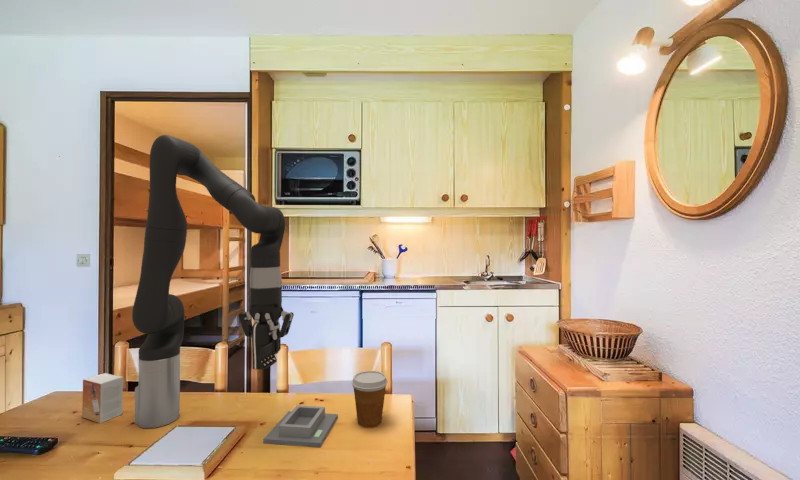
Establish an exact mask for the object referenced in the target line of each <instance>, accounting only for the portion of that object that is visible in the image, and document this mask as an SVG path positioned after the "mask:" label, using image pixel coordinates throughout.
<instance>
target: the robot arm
mask: <svg viewBox="0 0 800 480" xmlns="http://www.w3.org/2000/svg"><path fill="white" fill-rule="evenodd" d="M177 176H185V177H188V178H190V179H192V180H194V181H196V182H198V183H200V184H201V185H202V186H204V187H205V188H206V190H207V192H208V193H209V194H210V196H211V197H212V198H213V200H214V201H215V202H217V203H218V204H219V205H221V206H222V207H223V208H225V209H226V210H227V211H228V212H230V213H232V214H233V216H234V217H235V218H236V219H237V221H238V222H239V223H240V224H241V226H243V228H245V229H246V230H248V231H250V232H251V233H254V234H259V239H258V240H259V241H258V242H257V243H255V244H253V245H252V246H251V249H250V273H249V304H250V308H249V310H248V311H244V312H240V313H239V314H238V318H239V321H240V325H241V327H242V331H243V333H244V336H245V337H250V339H252V327H253V325H254V324H255V323H256V322H267V323H268V326H269V330H270V331H271V333H272V337H273V340H272V354H274V355H277V354H278V353H279V352H280V351H281V349H282V348H281V344H282V343H281V338H283V337H285V336H287V335H288V334H289V332H290V328H291V326H292V325H291V324H292V321H293V319H294V315H295V314H294V312H287V311H285V310H284V308H283V306H282V302H283V296H282V295H283V292H282V288H283V287H282V284H283V280H282V278H283V277H282V271H281V269H282V268H281V247H282V244H283V240H284V237H285V231H286V219H285V216H284V213H283V212H282V211H281V209H279V208H278V207H274V206H269V205H263V204H261V203H259V202H257V201H256V198H255V197H256V196H254V194H253V193H252V192H250V190H248V189H247V188H245V187H244V186H242V185H241V184H240V183H238V182H237V181H236V180H234V179H233V178H232V177H230V176H229V175H227V174H226V173H224V172H223V171H222V170H221V169H220V168H218V167H217V166H216V165H215V164H214V163H213V162H212V161H211V160H210V159H209V158H208V157H207V156H206V155H205V154H204V153H203V151H201V150H200V149H199V148H198V147H197V146H196V145H194V144H193V143H191V142H188V141H185V140H183V139H180V138H177V137H175V136H173V135H170V134H169V135H168V134H163V135H162V134H161V135H159V136H158V137H157V138H155V139H154V140H153V142H152V145H151V147H150V152H149V195H148V205H147V208H148V209H147V216H146V223H145V231H144V241H143V252H142V260H141V268H140V269H141V270H140V277H139V280H138V281H139V282H138V285H137V286H138V287H137V290H136V293H135V294H136V295H135V298H134V302H133V307H132V311H131V314H132V315H131V317H132V318H131V319H132V324H133V326H134V327H135V329H136V330H137V331H138V332H140V333H142V334H144V335H147V336H146V338H145V340H144V342H143V343H142V344H141V345H140V347H139V349H138V385H137V386H135V387H134V425H137V426H138V427H140V428H142V429H154V428H159V427H163V426H165V425H166V426H167V425H169V424H171V423H174V422H175V421H176V420H177V419H179V418H180V413H181V409H180V407H181V403H180V402H181V346H182V343H183V342H184V341H183V340H184V334H185V306H184V303H183V302H182V300H181V299H180V297H178V296H176V295H174V294H172V293H171V294H170V286H171V282H172V281H171V280H172V277H173V274H174V272H175V270H176V268H177V267H178V265H179V262H180V261H181V259H182V257H183V254H184V252H185V249H186V243H187V237H188V236H187V233H188V221H187V218H186V215H185V212H184V210H183V207H182V205H181V203H180V200H179V197H178V193H177ZM281 317H282V318H281ZM280 318H281V320H282V324H280ZM252 320H253V321H254V322H253V323H252ZM274 324H275V326H274Z"/></svg>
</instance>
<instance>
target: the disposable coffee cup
mask: <svg viewBox="0 0 800 480" xmlns="http://www.w3.org/2000/svg"><path fill="white" fill-rule="evenodd" d="M351 385H352V387H353V392H354V393H353V394H354V401H355V410H356V419H357V424H358V426H360V427H362V428H367V429H369V428H376V427H378V426H379V425H381V424H382V421H383V420H382V419H383V411H384V405H385V395H386V386H387V385H388V378H387V375H386V374H385V373H384V372H381V371H377V370H365V371H360V372H358V373H355V374H354V376H353V379H351Z"/></svg>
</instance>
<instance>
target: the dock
mask: <svg viewBox="0 0 800 480" xmlns="http://www.w3.org/2000/svg"><path fill="white" fill-rule="evenodd" d="M338 418H339V414H337V413H326V407H325V406H317V405H316V406H313V405H296V406H295V407H294V408H293V410H289V411H287V412H286V413H285V414H284V415H283V417H282V418H281V419H280V420H279V421H278V422H277V423H276V424H275V425H274V426H273V428H272V429H271V430H270V431H269V432H268V433H267V434H266V436H264V438H263V441H262V442H263V443H262V444H269V445H270V444H272V445H283V446H285V445H286V446H295V447H296V446H297V447H298V446H299V447H309V448H310V447H311V448H321V447H322V446H323V443H324V442H325V440H326V439H327V437H328V435H329V434H330V431H332V428H333V427H334V425H335V424H336V422H337V420H338Z"/></svg>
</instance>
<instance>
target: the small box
mask: <svg viewBox="0 0 800 480" xmlns="http://www.w3.org/2000/svg"><path fill="white" fill-rule="evenodd" d="M123 393H124V377H123V376H121V375H120V376H119V375H114V374H111V373H108V372H104V373H101V374H97V375H94V376H90V377H86V378H83V379H82V406H81V407H82V414H81V417H82V419H83V418H84V419H87V420H90V421H92V422H95V423H98V424H102V423H105V422H106V421H109V420H111V419H114V418H117V417H119V416H121V415H123V404H124V401H123V395H124V394H123Z"/></svg>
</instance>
